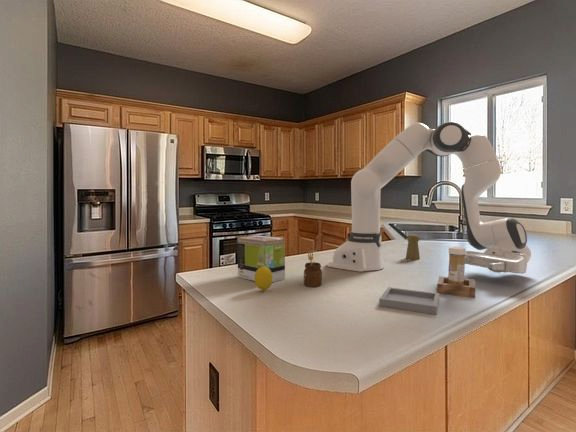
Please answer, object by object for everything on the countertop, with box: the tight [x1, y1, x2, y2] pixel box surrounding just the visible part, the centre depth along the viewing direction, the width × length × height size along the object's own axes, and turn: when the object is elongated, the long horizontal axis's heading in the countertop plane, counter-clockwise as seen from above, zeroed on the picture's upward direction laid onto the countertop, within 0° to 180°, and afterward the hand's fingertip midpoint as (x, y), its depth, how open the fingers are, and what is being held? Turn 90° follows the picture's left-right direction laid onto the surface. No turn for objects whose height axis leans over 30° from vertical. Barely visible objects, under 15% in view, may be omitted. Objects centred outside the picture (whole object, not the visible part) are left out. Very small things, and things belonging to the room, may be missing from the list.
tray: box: [378, 286, 440, 315], centre depth 91 cm, size 14×12×2 cm
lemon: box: [254, 266, 273, 292], centre depth 103 cm, size 6×6×8 cm
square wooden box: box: [436, 275, 476, 298], centre depth 102 cm, size 10×10×3 cm
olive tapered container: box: [405, 233, 421, 261], centre depth 150 cm, size 6×6×11 cm
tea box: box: [236, 235, 286, 283], centre depth 119 cm, size 15×10×15 cm
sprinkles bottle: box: [447, 245, 467, 285], centre depth 102 cm, size 5×5×14 cm
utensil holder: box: [303, 250, 323, 288], centre depth 110 cm, size 6×6×12 cm
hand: (475, 263), depth 107 cm, fingers open, 8 cm apart
